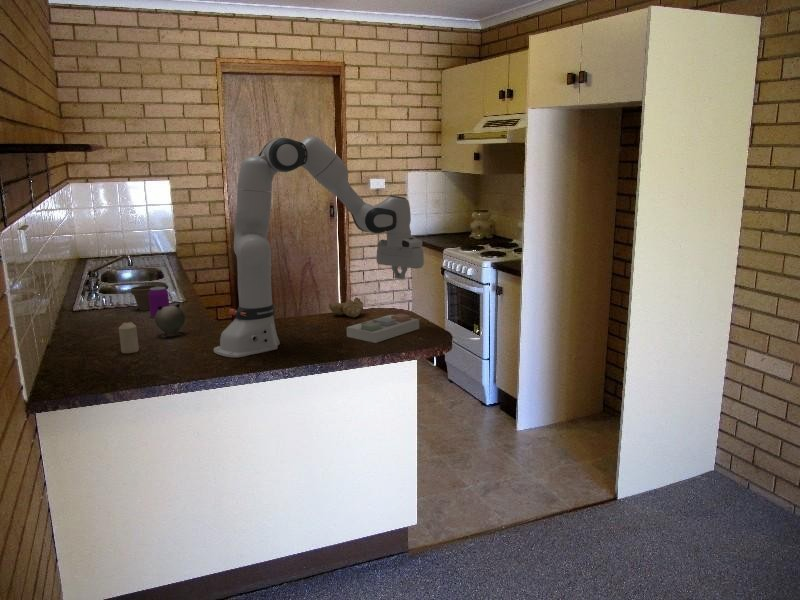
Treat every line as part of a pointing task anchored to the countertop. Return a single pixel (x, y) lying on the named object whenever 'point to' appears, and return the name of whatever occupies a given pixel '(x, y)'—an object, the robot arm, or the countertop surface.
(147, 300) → the flower pot
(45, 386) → the countertop surface
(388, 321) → the grey key
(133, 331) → the candle
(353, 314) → the ginger root
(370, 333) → the keypad
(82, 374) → the countertop surface
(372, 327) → the sage key
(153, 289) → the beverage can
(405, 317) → the terracotta key
